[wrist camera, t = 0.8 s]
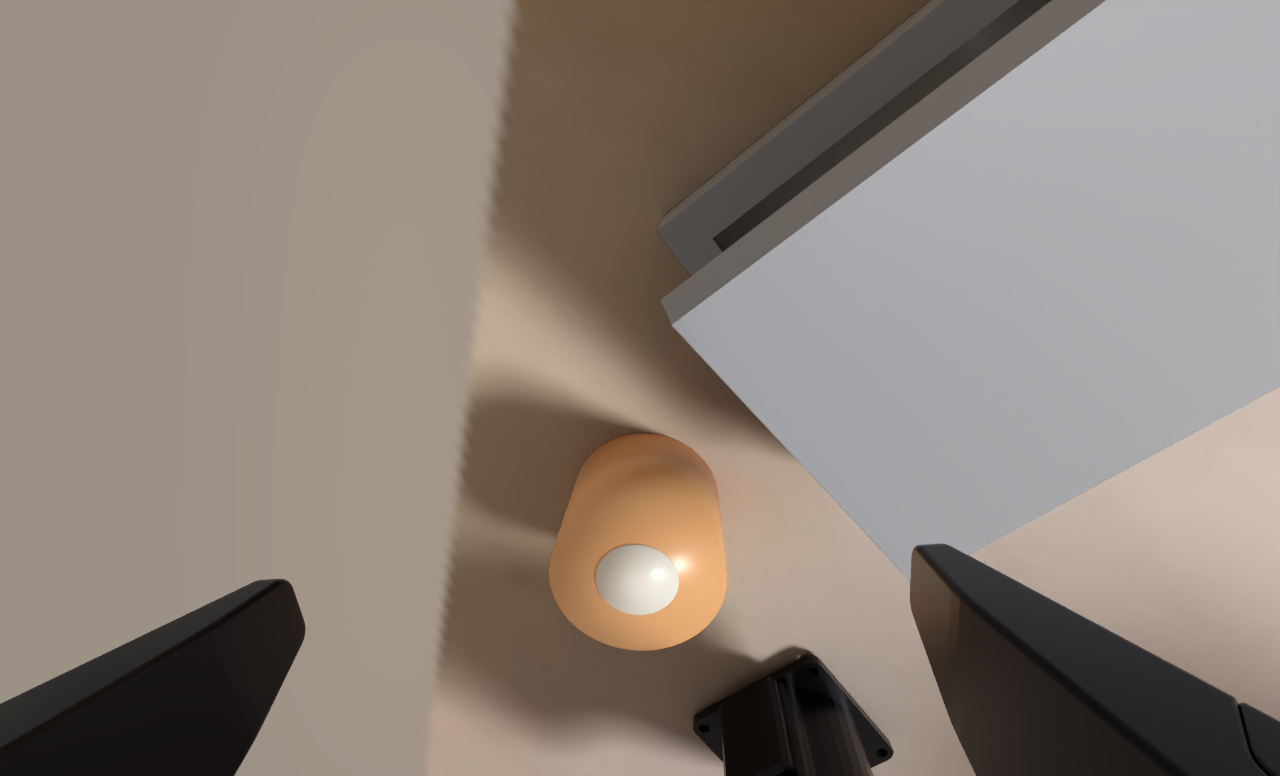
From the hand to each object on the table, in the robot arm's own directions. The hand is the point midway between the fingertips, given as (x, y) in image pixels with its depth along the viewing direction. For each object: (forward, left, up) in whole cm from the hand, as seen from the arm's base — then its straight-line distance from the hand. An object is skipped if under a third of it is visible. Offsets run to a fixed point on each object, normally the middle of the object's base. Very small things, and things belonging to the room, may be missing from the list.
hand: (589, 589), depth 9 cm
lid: (-3, -10, -6) cm, 12 cm away
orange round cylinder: (-5, +4, -14) cm, 15 cm away
